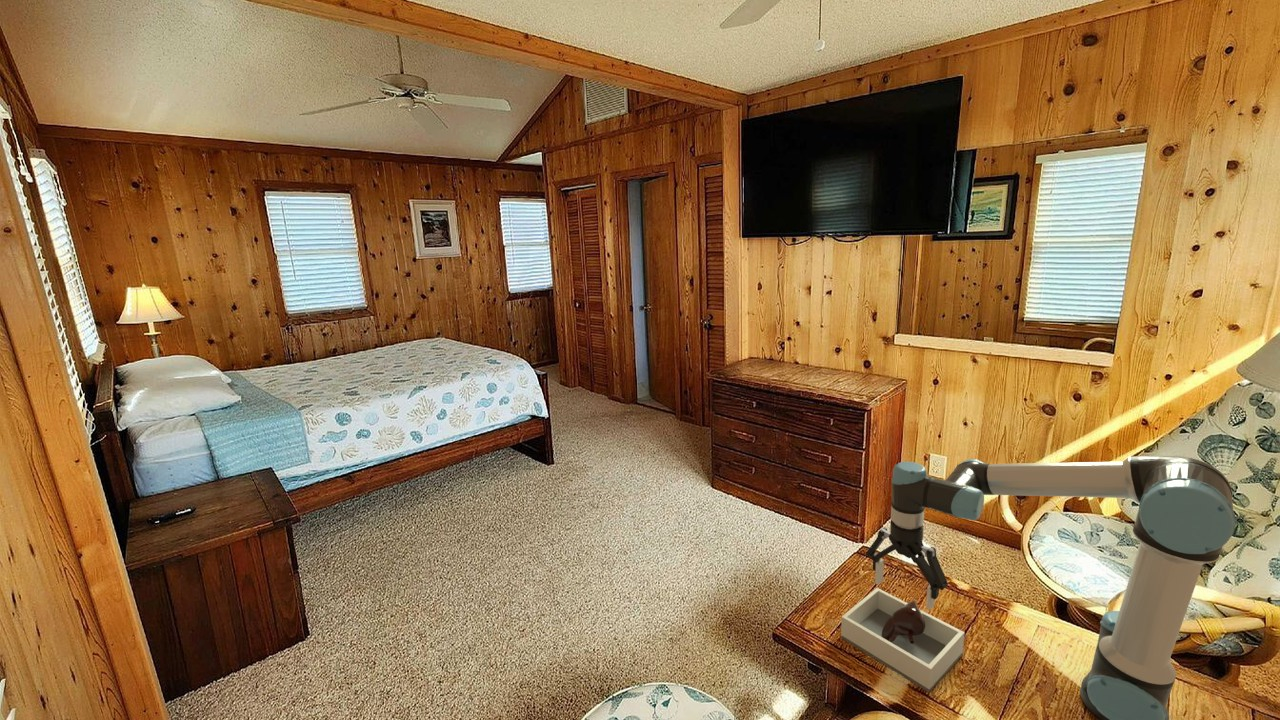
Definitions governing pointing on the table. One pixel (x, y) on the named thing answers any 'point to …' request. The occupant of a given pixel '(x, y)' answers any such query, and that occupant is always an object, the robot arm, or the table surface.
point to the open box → (903, 640)
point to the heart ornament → (904, 623)
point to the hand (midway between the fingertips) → (903, 594)
